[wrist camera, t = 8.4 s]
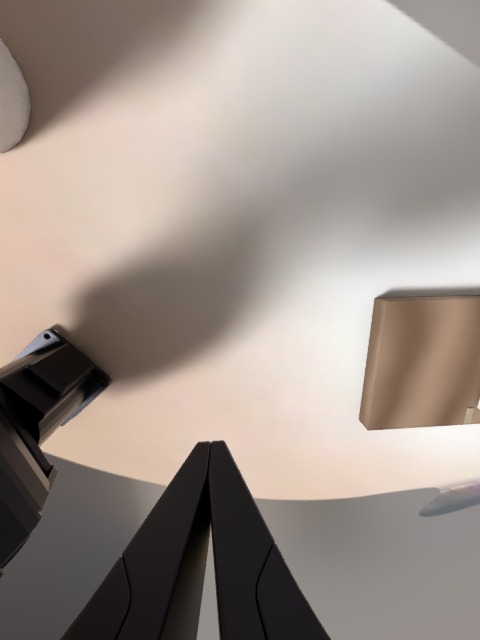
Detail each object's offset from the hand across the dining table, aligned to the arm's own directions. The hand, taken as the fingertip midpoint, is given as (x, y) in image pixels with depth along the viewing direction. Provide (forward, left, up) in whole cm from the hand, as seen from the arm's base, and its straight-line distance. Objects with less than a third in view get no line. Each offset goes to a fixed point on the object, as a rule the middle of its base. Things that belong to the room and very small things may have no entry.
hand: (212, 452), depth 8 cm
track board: (+14, -16, -13) cm, 25 cm away
